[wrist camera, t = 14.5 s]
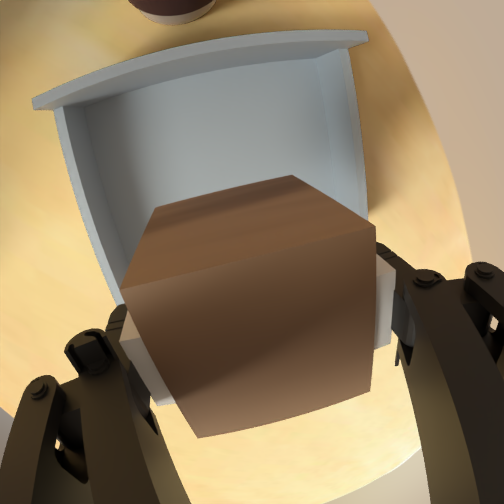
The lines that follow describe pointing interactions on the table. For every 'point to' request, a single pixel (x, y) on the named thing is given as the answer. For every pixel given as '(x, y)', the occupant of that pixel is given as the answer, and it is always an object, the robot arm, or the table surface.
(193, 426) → the walnut block
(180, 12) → the coffee cup
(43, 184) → the table surface
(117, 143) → the truck bed
